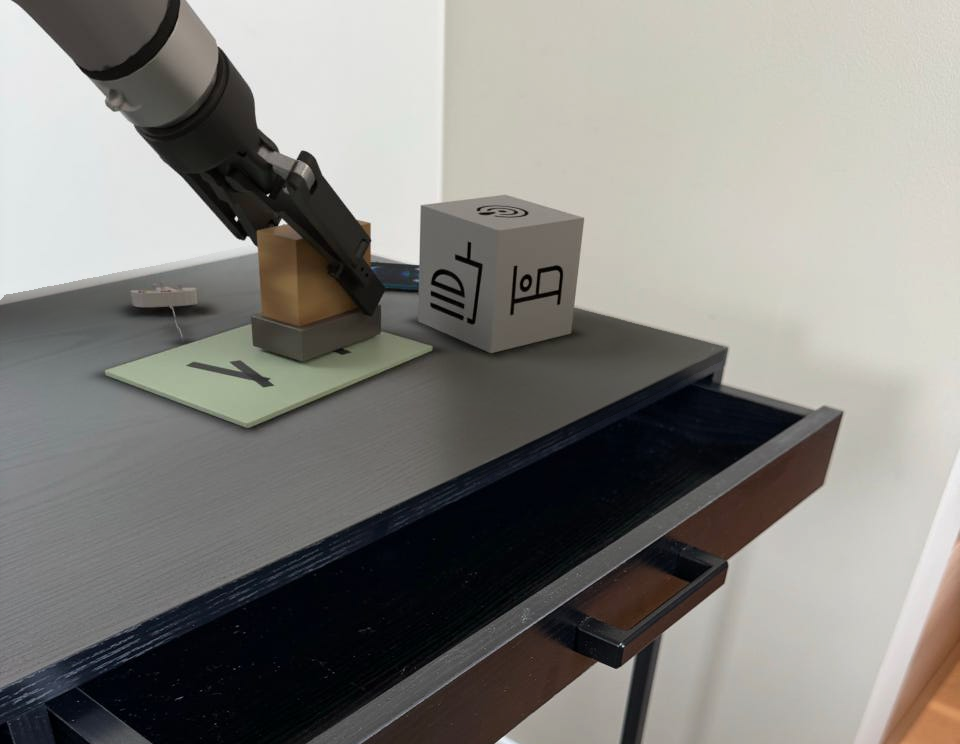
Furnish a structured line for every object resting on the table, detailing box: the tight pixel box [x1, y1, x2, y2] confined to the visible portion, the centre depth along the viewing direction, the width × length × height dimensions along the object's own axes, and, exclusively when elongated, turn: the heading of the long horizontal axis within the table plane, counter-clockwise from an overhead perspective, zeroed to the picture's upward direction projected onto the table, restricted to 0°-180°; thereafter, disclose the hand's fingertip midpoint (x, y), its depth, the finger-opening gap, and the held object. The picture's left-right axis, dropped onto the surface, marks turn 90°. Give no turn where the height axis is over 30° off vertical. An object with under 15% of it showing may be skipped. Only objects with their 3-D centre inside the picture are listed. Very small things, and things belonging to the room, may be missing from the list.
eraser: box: [250, 219, 382, 362], centre depth 79 cm, size 6×10×9 cm, turn 147°
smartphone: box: [371, 261, 419, 291], centre depth 99 cm, size 8×1×15 cm
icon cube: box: [417, 194, 585, 354], centre depth 86 cm, size 10×10×10 cm
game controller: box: [130, 280, 199, 343], centre depth 85 cm, size 6×12×3 cm, turn 40°
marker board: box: [104, 323, 433, 429], centre depth 79 cm, size 15×22×1 cm
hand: (346, 293), depth 83 cm, fingers closed on eraser, 5 cm apart
